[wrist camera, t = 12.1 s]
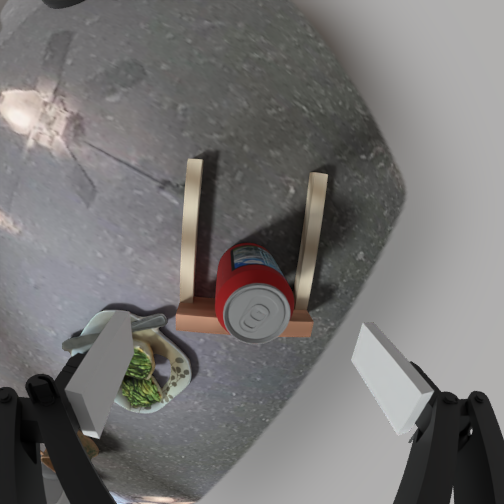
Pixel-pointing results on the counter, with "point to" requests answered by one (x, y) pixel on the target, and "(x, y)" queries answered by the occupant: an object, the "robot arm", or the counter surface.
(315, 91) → the counter surface
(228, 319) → the beverage can
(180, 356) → the avocado toast plate
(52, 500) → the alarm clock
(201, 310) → the guide channel
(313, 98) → the counter surface
